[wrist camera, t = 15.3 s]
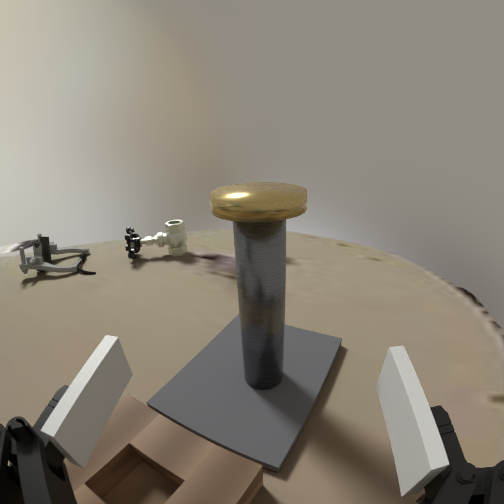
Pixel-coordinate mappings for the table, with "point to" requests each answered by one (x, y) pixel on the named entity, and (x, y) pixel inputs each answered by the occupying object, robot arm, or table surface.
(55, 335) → the table surface
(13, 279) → the table surface
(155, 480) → the eye block
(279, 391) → the mat
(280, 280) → the brass topped pillar
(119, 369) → the robot arm
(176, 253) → the valve
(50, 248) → the bike brake
